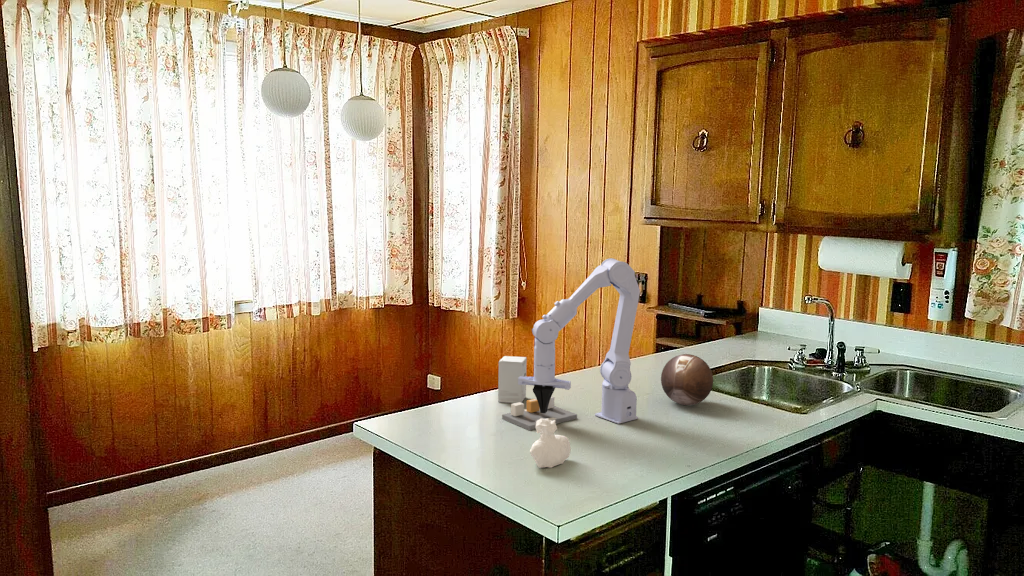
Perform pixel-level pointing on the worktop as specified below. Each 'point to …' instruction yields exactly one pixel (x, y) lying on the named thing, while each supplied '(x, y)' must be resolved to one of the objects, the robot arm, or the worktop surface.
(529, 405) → the breaker
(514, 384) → the supplement box
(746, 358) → the worktop surface
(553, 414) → the breaker panel
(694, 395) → the brown metallic sphere
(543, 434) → the bust
